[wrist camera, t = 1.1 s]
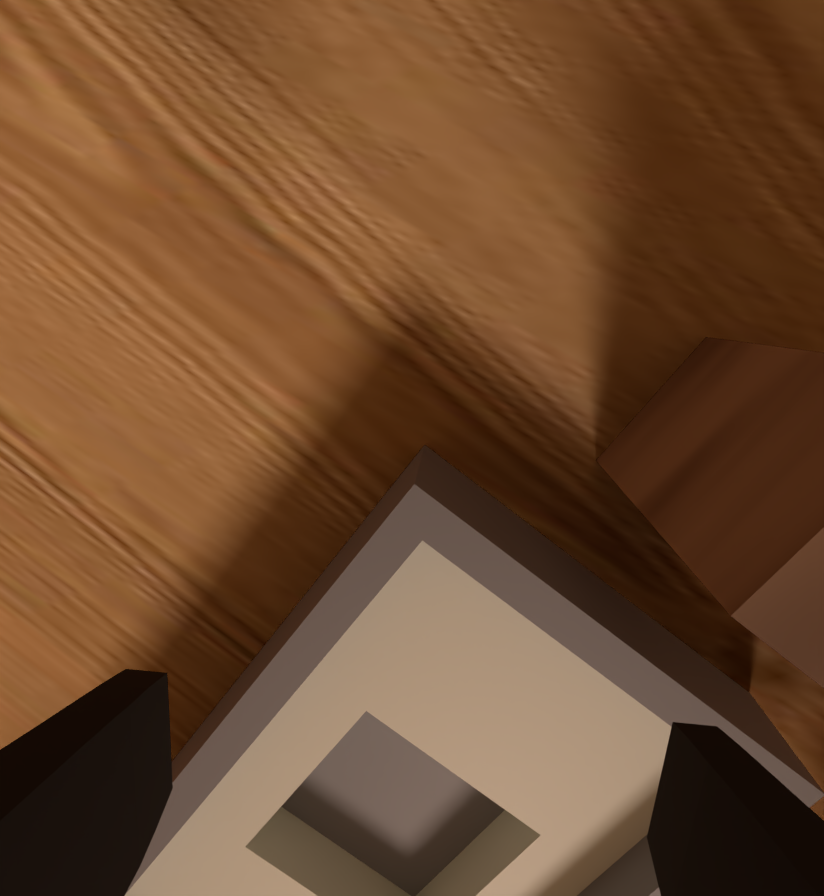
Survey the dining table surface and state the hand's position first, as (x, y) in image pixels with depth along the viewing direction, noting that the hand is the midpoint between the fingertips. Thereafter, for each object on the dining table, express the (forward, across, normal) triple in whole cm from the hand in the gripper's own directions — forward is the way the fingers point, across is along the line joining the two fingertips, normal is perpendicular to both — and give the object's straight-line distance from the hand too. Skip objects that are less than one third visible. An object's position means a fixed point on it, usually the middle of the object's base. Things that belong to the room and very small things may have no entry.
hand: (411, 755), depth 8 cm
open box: (+10, 0, +10) cm, 14 cm away
